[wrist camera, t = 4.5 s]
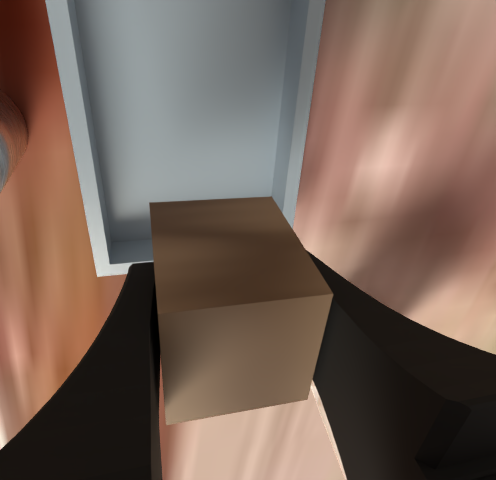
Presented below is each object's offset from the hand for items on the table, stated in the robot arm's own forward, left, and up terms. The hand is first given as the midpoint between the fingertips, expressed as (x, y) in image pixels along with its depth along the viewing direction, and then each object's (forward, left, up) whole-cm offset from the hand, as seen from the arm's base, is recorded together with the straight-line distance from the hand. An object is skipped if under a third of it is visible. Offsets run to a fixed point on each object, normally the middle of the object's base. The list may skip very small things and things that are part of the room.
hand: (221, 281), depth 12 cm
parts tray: (0, +3, -8) cm, 9 cm away
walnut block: (0, 0, -2) cm, 2 cm away
